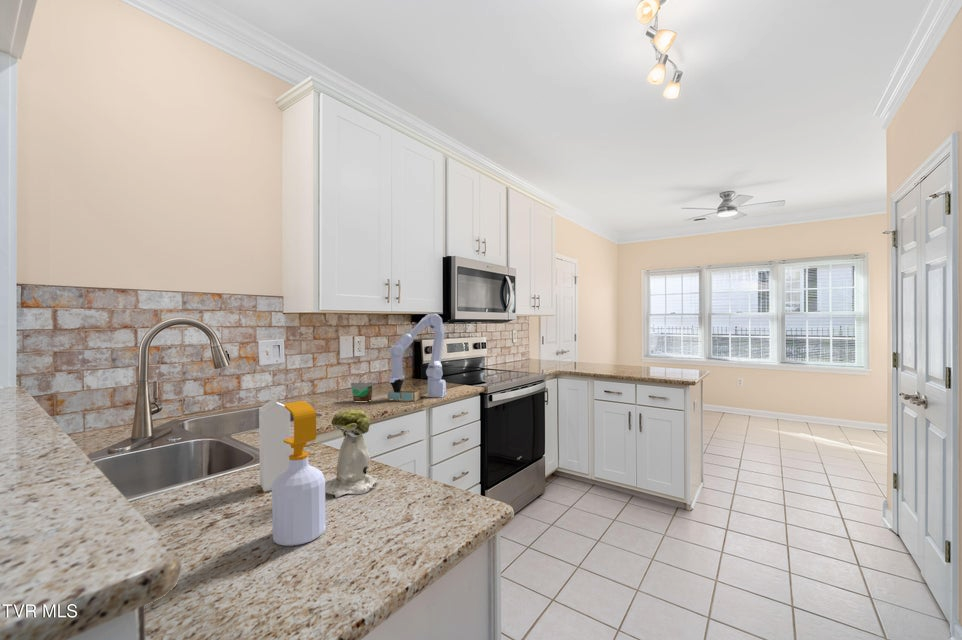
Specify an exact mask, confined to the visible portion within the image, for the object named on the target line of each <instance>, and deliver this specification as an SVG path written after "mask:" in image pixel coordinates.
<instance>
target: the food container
mask: <svg viewBox="0 0 962 640" xmlns="http://www.w3.org/2000/svg"><path fill="white" fill-rule="evenodd" d="M373 386H374V382H373V381H367V382H354V380H353V381H351V382H350V387H351V389H352V391H351V392H352V399H353V400H354V401H369V400H371V401H372V396H373V395H372V394H373ZM353 400H352V401H353Z"/></svg>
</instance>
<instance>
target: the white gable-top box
mask: <svg viewBox="0 0 962 640" xmlns="http://www.w3.org/2000/svg"><path fill="white" fill-rule="evenodd" d="M284 406H285V404H283V403H280V402H278V398H277V396H276V395H275V394H271V400H269V401H268V402H266V403H264V404H263V405H262V406H260V407H259V408H258V429H259V430H258V432H259V436H258V442H259V443H258V444H259V447H258V448H259V449H258V451H259V485H260V487H261V489H262V491H263V492H264V493H266V492H270V491H271V492H272V485H273V482H274V480H275V479H276V478H277V477H278V476H279V475H280V474H281V473H282V472H284V471H285V470H287V469H288V468H289V455H291V454H292V453H291V452H292V451H291V449H292V448H291V445H290V444H287V443H284V439H287V438H291V413H290V412H289V411H288V410H287V409H286V408H285V407H284Z"/></svg>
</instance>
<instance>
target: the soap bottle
mask: <svg viewBox="0 0 962 640" xmlns="http://www.w3.org/2000/svg"><path fill="white" fill-rule="evenodd" d="M284 405H285V406H284V407H285V408H286V409H287V410H288V411H289V412H290V415H292V417H293V437H290V438H287V439H284V443H287V444H290V445H291V449H293V453H291V455H289V468H288V469H287V470H285V471H284V472H282V473H281V474H280V475H279V476H278V477H277V478H276V479H275V480H274V482H273V485H272V490H271V500H272V503H271V504H272V505H271V506H272V507H271V508H272V510H271V511H272V513H271V514H272V515H271V516H272V517H271V519H272V539H273V542H274V543H276V544H277V545H279V546H284V547H288V546H289V547H292V546H294V545H295V546H300V545H303V544H307V543H309V542H312V541H314V540H316V539H318V538H320V536H322V535H323V534H324V532H325V531H326V528H327V527H326V526H327V525H326V523H327V522H326V519H327V516H326V512H327V511H326V492H325V480H326V478H325V475H324V473H323V472H322V471H321V470H320V469H318V468H317V467H315V466H312V465H310V464H309V452H306V451H304V448H305V447H306V446H307V443H309V442H312V441H315V440H316V439H317V413H316V410H315V408H314V407H313V406H312V405H311V404H310V403H308V402H307V401H306V400H305V401H304V400H299V401H293V402H286V403H284Z"/></svg>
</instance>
